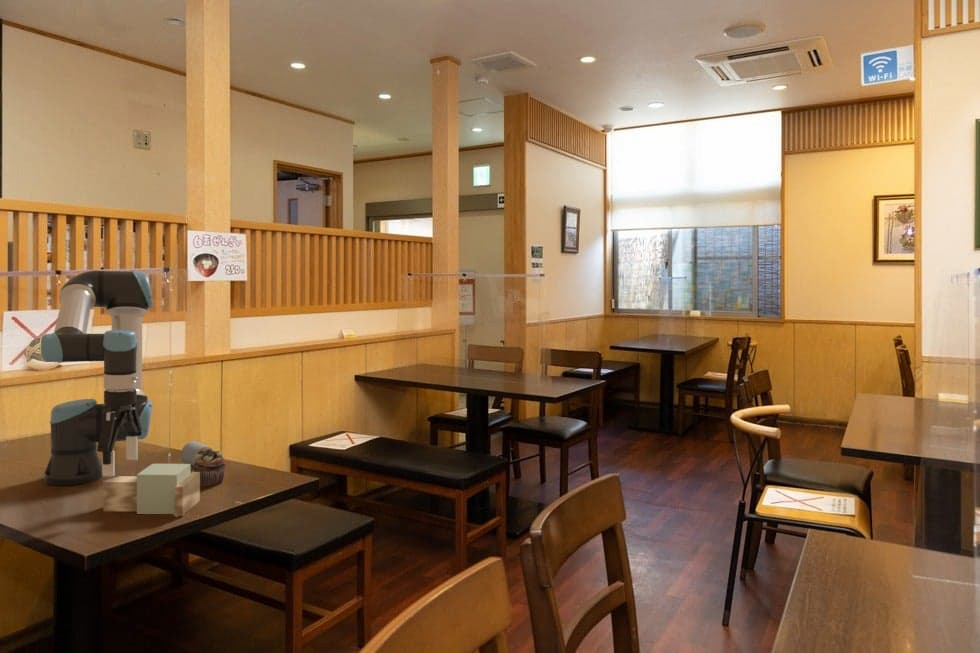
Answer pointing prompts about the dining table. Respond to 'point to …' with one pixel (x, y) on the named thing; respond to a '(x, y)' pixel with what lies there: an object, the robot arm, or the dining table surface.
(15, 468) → the dining table surface
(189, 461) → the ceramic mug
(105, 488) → the light wood rectangular block
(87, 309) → the robot arm
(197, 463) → the cupcake
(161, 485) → the socket block
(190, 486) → the board
